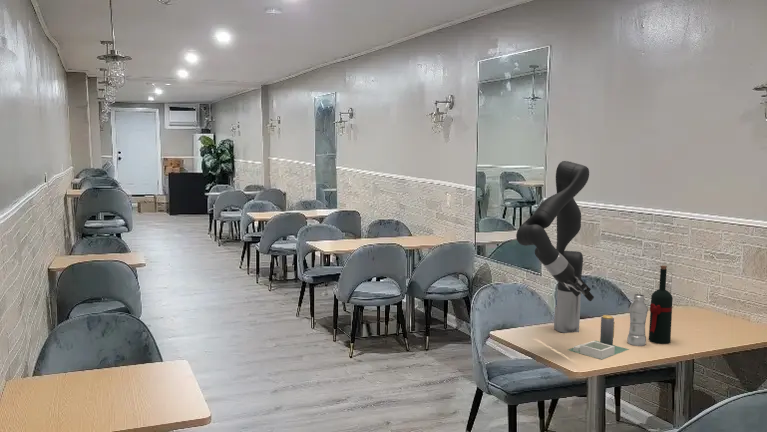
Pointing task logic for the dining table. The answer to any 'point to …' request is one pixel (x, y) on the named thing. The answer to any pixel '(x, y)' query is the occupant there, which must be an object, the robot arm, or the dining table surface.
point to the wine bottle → (661, 312)
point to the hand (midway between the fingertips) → (585, 296)
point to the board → (597, 349)
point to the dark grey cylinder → (607, 330)
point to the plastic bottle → (637, 321)
